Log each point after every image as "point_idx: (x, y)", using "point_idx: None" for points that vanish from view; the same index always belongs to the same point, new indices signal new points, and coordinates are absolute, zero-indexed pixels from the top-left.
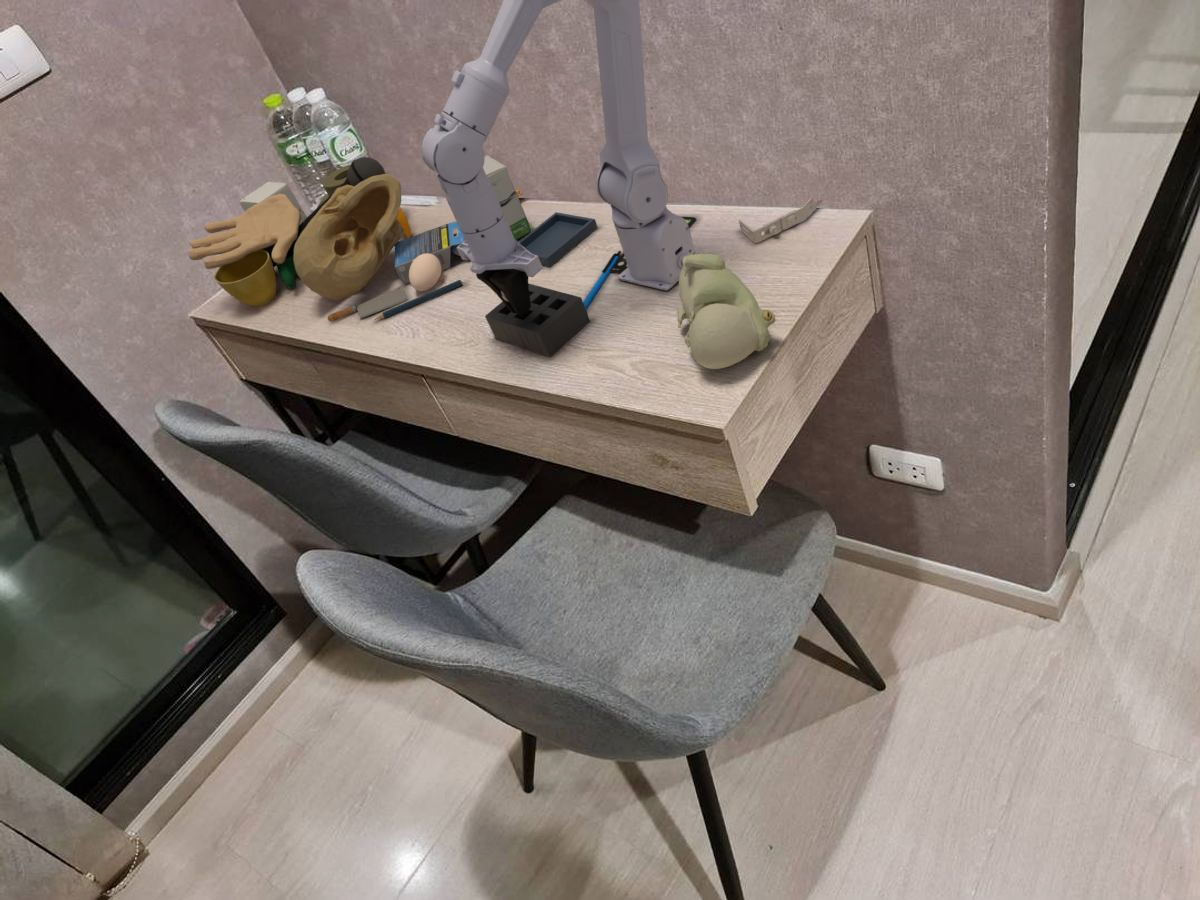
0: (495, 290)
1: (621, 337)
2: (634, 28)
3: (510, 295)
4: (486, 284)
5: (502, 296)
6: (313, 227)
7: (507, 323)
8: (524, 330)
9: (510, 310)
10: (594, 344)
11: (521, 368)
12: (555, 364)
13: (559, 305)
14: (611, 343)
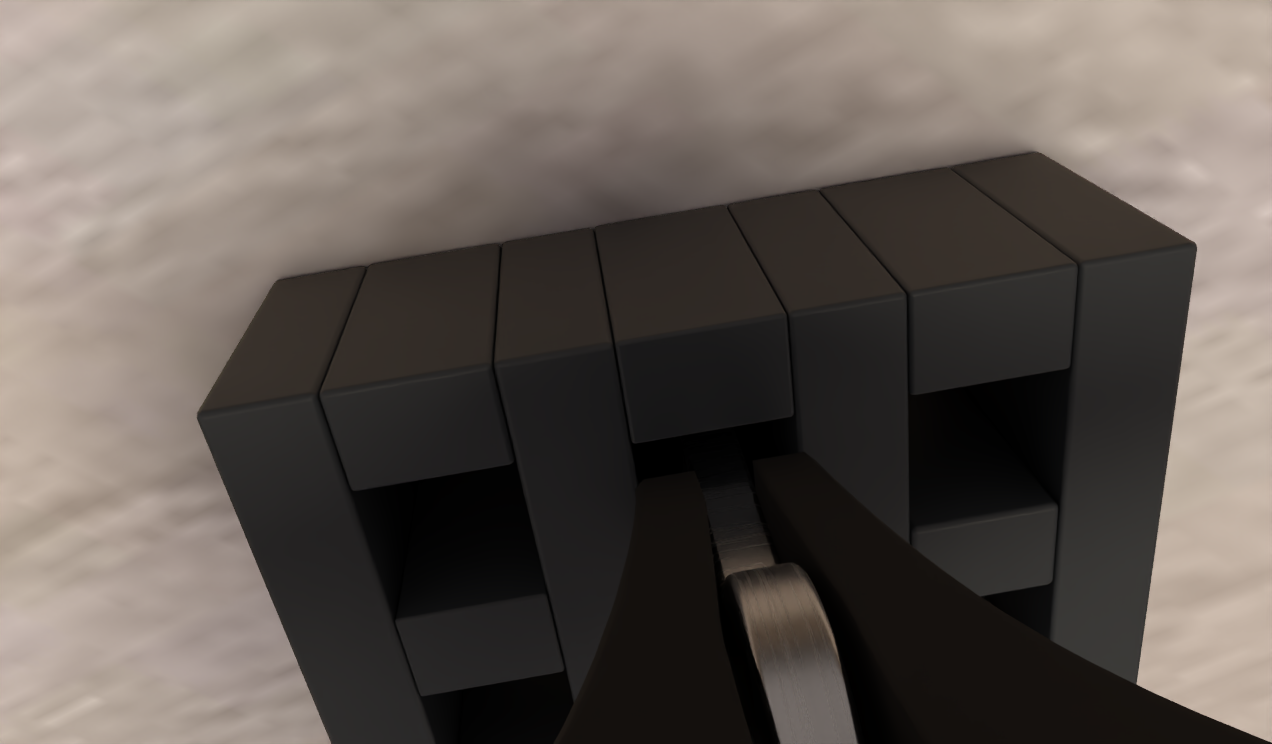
0: (953, 663)
1: (15, 696)
2: None
3: (572, 714)
4: (1172, 708)
5: (815, 613)
6: None
7: (770, 316)
8: (477, 354)
9: (798, 467)
10: (109, 562)
11: (378, 24)
12: (132, 251)
13: None
14: (5, 630)
